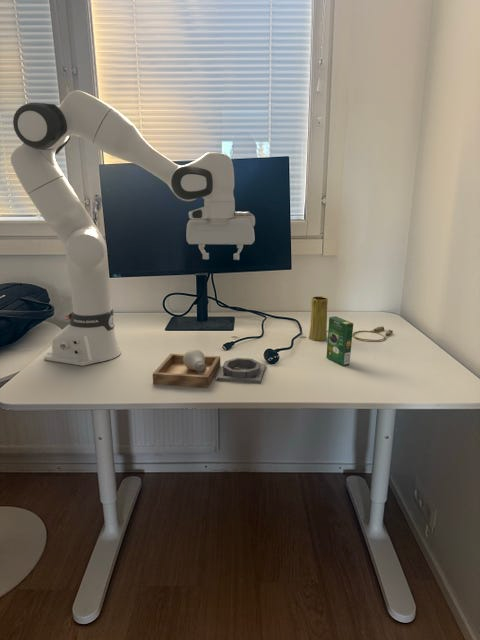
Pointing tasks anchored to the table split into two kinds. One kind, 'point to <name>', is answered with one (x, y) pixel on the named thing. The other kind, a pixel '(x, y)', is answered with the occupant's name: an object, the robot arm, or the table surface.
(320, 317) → the vase
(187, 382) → the tray
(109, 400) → the table surface
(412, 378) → the table surface
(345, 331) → the coffee box
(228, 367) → the socket
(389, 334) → the extension cord
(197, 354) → the lightbulb
